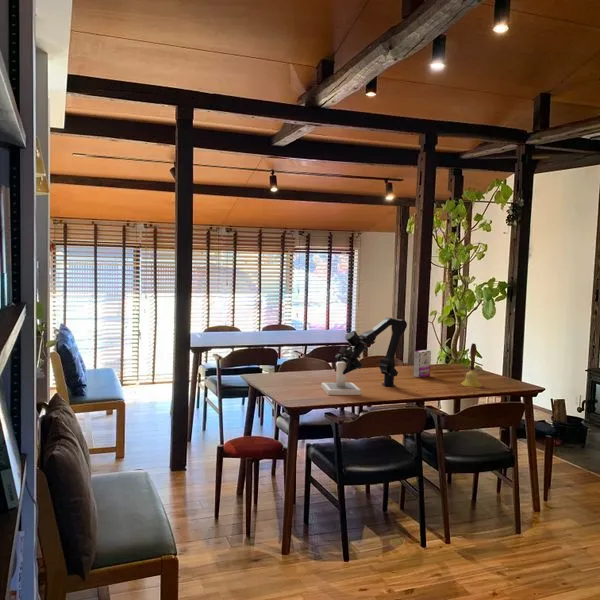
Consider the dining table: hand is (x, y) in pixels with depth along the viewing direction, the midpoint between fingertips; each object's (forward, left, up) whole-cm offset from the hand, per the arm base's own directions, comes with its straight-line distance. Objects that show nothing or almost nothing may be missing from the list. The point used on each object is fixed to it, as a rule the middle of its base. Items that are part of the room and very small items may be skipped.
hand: (339, 372), depth 307 cm
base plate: (+1, -1, -10) cm, 10 cm away
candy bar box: (+39, -63, -10) cm, 75 cm away
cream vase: (+1, -1, -7) cm, 8 cm away
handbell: (+15, -85, -10) cm, 87 cm away
